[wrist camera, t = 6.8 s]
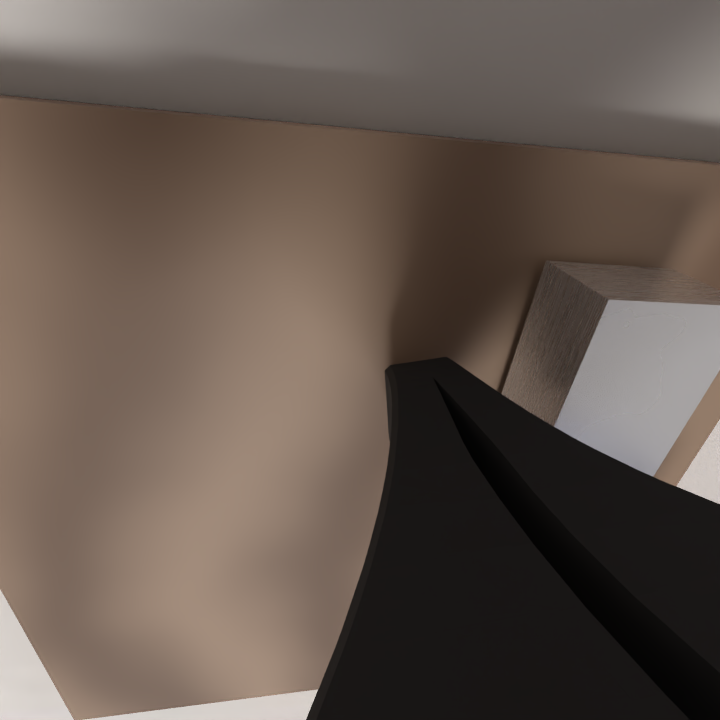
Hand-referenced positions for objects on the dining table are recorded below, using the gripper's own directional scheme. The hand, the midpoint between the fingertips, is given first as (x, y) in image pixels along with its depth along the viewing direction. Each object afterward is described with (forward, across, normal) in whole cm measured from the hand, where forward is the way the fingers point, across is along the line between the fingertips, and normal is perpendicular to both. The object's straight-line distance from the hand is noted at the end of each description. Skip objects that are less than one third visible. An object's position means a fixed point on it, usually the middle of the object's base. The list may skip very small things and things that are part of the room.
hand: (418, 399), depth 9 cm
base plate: (+2, +1, +5) cm, 5 cm away
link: (+1, -3, +6) cm, 7 cm away
